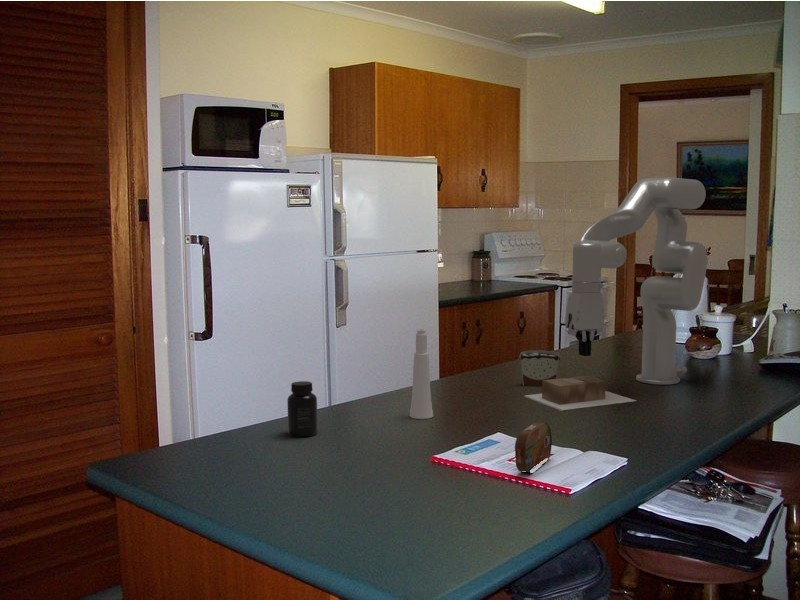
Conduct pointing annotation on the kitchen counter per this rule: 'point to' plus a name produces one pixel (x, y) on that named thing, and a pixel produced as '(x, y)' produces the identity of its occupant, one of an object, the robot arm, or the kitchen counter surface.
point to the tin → (532, 446)
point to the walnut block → (573, 390)
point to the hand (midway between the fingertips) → (584, 355)
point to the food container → (538, 366)
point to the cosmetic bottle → (421, 380)
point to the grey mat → (609, 399)
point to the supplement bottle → (302, 410)
